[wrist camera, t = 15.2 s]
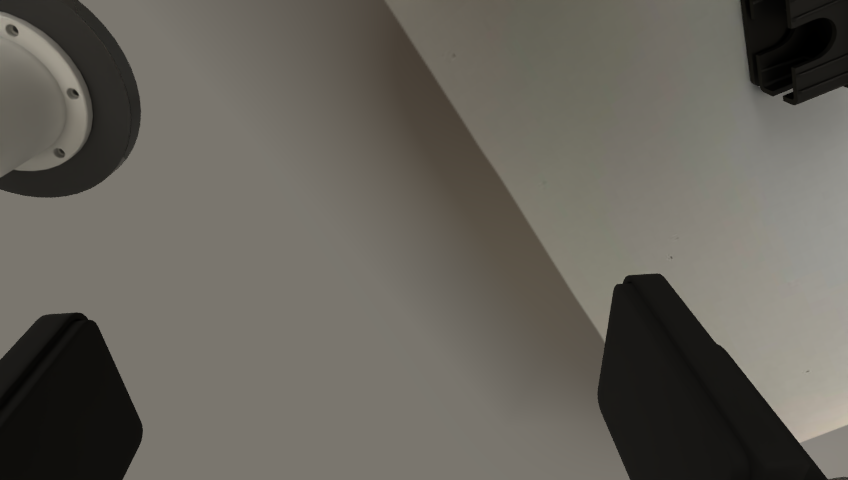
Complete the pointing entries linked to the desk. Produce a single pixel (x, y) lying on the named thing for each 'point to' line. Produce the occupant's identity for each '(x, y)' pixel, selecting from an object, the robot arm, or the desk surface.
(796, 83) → the end cap
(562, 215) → the desk surface
